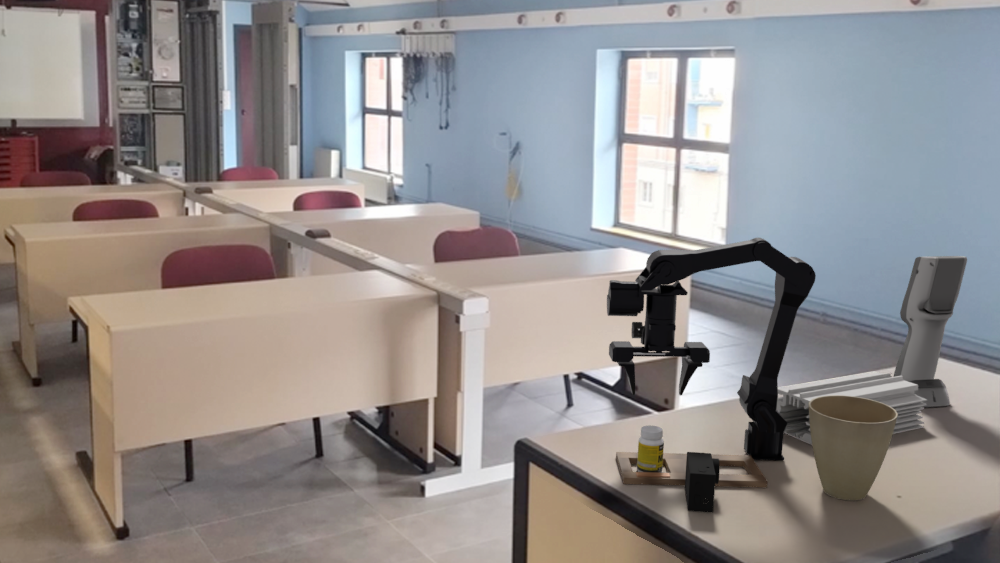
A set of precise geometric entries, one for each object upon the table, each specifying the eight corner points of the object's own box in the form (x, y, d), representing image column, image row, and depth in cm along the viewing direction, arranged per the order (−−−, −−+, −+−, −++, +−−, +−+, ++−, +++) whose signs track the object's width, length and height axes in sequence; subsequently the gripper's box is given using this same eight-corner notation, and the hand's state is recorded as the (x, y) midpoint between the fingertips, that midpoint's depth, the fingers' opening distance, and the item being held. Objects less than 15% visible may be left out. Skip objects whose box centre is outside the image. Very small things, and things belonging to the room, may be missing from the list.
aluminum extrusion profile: (923, 428, 217) (928, 384, 215) (821, 450, 202) (825, 403, 200) (870, 409, 229) (875, 367, 227) (770, 428, 215) (774, 383, 213)
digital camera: (720, 514, 170) (723, 475, 169) (687, 511, 171) (690, 472, 170) (715, 490, 181) (717, 453, 179) (684, 487, 181) (687, 451, 180)
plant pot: (784, 482, 185) (791, 399, 181) (849, 473, 190) (857, 392, 187) (838, 515, 171) (846, 425, 168) (907, 504, 176) (916, 417, 173)
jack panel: (750, 461, 195) (750, 454, 194) (767, 487, 182) (767, 480, 182) (615, 457, 195) (616, 450, 194) (623, 484, 182) (623, 476, 182)
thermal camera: (912, 409, 229) (929, 257, 222) (879, 392, 241) (894, 248, 235) (957, 406, 232) (974, 257, 225) (922, 390, 244) (938, 247, 237)
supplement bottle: (661, 477, 186) (664, 434, 184) (635, 475, 186) (638, 431, 185) (662, 468, 190) (665, 425, 189) (637, 465, 191) (639, 423, 189)
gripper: (699, 307, 201) (695, 382, 204) (606, 307, 201) (603, 382, 204) (712, 320, 190) (708, 399, 193) (614, 319, 190) (611, 399, 193)
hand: (656, 394), depth 196 cm, fingers open, 9 cm apart
